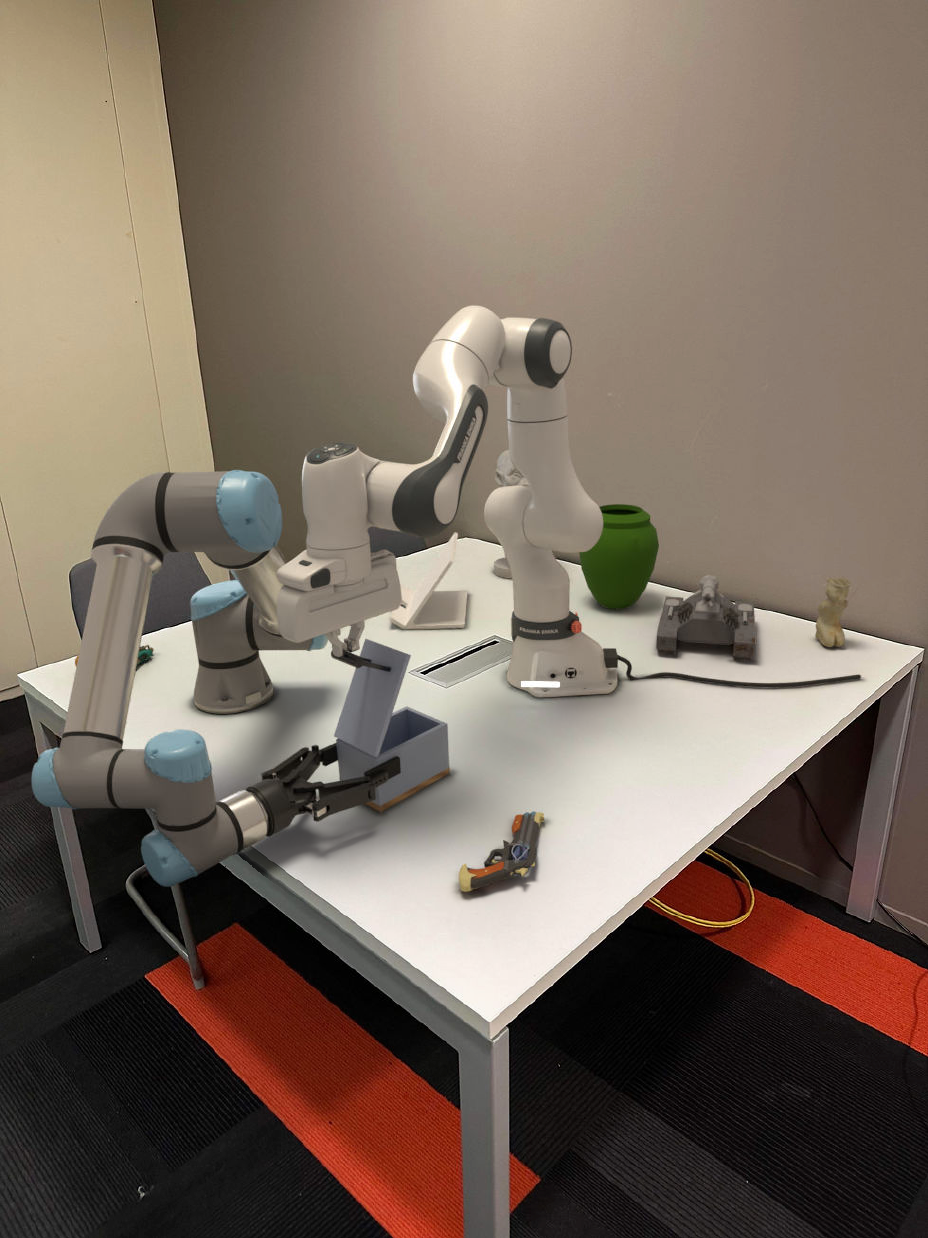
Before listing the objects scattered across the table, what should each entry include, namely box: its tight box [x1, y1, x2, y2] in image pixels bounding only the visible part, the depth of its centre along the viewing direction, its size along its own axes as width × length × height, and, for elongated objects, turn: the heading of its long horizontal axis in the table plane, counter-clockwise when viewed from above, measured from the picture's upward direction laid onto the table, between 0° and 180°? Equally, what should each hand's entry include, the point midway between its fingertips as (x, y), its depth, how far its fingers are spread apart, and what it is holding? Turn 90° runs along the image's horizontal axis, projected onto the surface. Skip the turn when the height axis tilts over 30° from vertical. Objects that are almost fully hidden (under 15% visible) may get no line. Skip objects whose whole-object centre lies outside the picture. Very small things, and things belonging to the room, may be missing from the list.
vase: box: [578, 503, 660, 610], centre depth 210 cm, size 20×20×24 cm
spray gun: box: [74, 644, 155, 668], centre depth 186 cm, size 4×17×15 cm
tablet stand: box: [388, 531, 468, 630], centre depth 211 cm, size 18×25×17 cm
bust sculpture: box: [493, 449, 529, 579], centre depth 231 cm, size 16×24×35 cm
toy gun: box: [458, 811, 546, 892], centre depth 119 cm, size 3×19×10 cm
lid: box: [330, 638, 412, 757], centre depth 128 cm, size 16×10×9 cm
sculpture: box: [814, 576, 852, 648], centre depth 185 cm, size 6×7×15 cm
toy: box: [655, 574, 756, 660], centre depth 189 cm, size 25×20×15 cm
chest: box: [335, 705, 451, 813], centre depth 137 cm, size 15×10×9 cm, turn 136°
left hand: (376, 753), depth 134 cm, fingers closed on chest, 10 cm apart
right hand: (346, 652), depth 125 cm, fingers closed, pressing on lid
